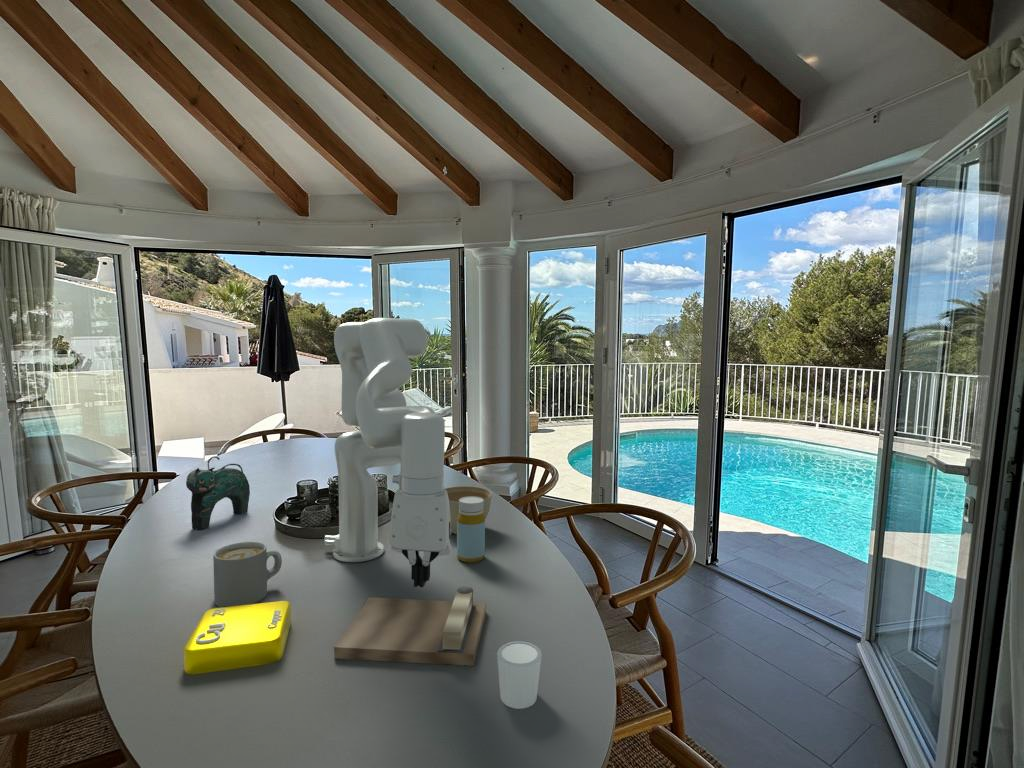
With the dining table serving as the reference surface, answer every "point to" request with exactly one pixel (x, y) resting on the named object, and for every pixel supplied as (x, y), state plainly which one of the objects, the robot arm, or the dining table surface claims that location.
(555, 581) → the dining table surface
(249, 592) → the coffee mug
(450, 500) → the planter bowl
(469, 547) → the bottle
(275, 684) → the dining table surface
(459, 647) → the folding leg
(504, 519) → the dining table surface
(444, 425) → the robot arm
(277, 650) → the element tile
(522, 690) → the shot glass
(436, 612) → the stool seat
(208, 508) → the ceramic cat
